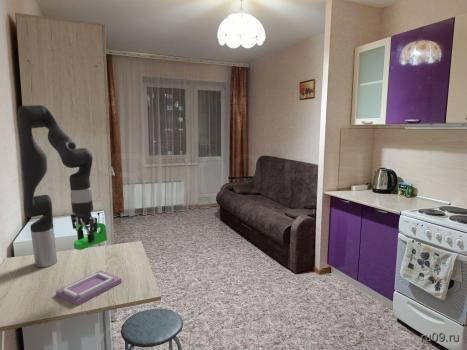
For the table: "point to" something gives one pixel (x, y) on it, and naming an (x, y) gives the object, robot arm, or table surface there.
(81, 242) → the mechanical part
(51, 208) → the robot arm
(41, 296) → the table surface
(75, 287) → the door panel
